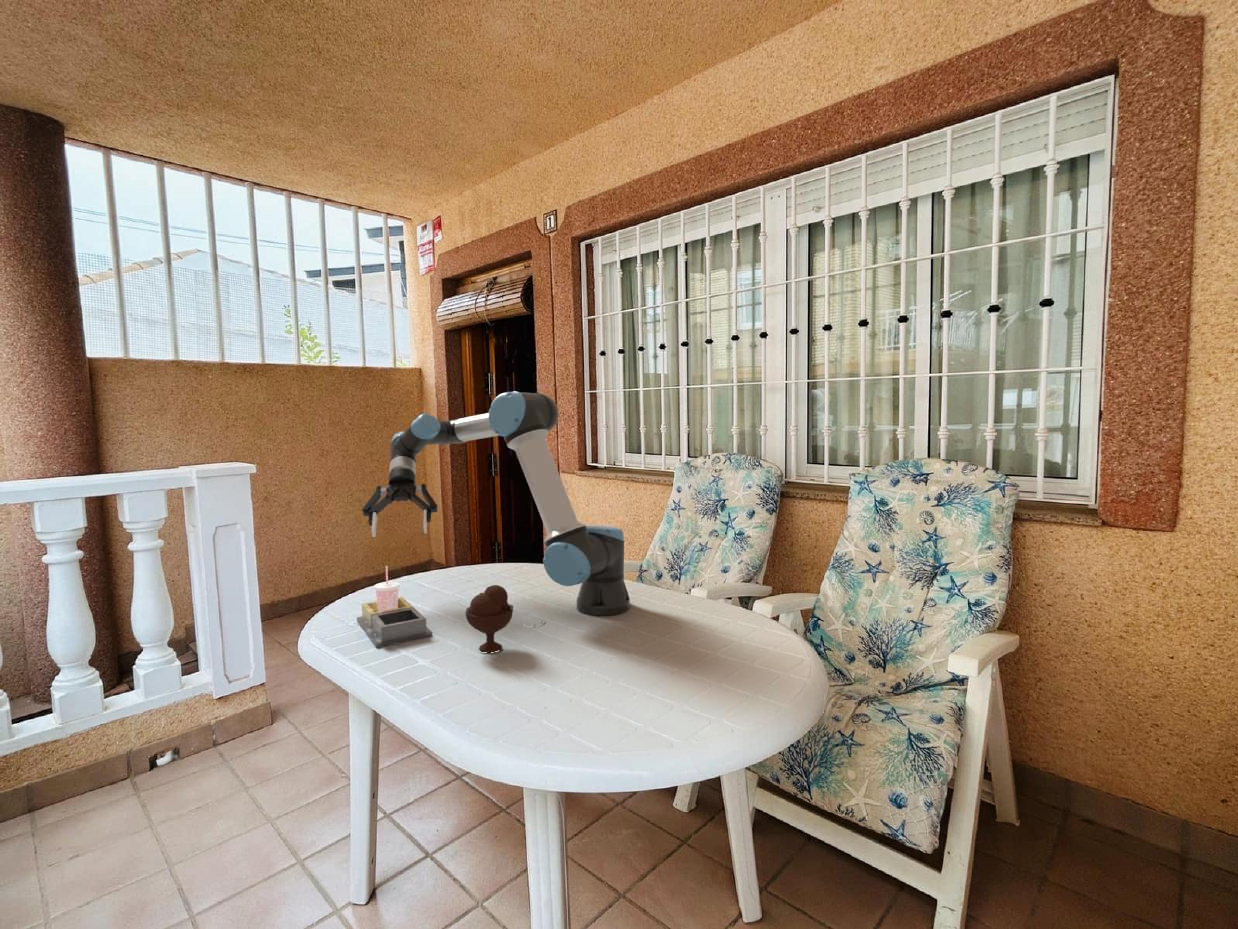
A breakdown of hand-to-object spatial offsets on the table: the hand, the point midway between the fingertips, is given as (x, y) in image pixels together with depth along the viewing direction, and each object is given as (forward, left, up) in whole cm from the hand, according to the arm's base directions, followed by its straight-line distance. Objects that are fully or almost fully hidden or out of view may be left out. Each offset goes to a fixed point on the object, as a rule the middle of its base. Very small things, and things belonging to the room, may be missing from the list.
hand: (399, 532), depth 162 cm
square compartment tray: (-16, +6, -22) cm, 27 cm away
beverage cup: (-10, +6, -21) cm, 24 cm away
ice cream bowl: (-43, -9, -22) cm, 49 cm away
